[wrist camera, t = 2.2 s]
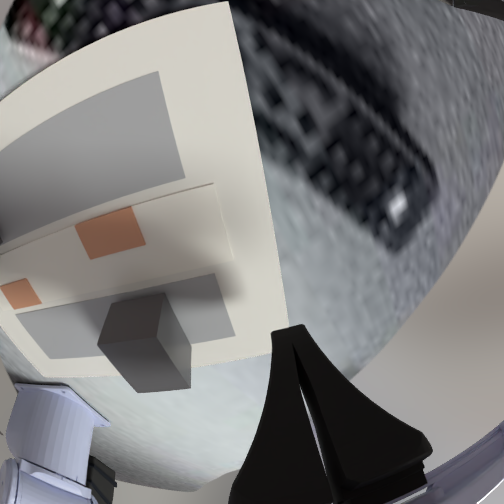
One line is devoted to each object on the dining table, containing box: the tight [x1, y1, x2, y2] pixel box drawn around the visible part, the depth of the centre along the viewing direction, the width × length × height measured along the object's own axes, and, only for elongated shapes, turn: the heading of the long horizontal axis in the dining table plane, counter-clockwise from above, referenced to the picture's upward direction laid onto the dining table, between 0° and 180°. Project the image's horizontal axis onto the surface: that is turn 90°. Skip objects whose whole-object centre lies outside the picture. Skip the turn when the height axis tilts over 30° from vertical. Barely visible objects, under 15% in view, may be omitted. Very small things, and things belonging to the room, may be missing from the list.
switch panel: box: [0, 1, 289, 377], centre depth 12 cm, size 20×18×2 cm
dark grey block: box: [97, 292, 192, 393], centre depth 12 cm, size 3×4×3 cm
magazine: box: [85, 456, 117, 504], centre depth 29 cm, size 4×13×15 cm, turn 177°
